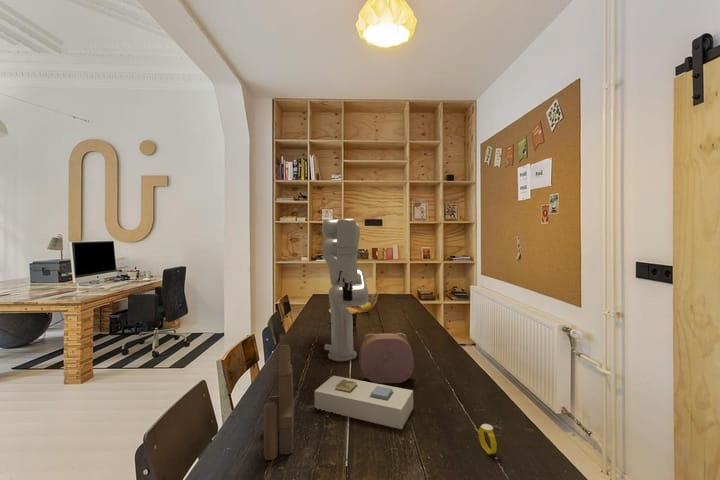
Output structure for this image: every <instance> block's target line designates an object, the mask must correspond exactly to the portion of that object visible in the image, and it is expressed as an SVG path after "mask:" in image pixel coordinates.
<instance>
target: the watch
mask: <svg viewBox="0 0 720 480" xmlns="http://www.w3.org/2000/svg"><path fill="white" fill-rule="evenodd" d="M485 433H487V436H488V438H489V443H490V447H489V446H488V444H487V442H486V438H485ZM478 439H479V443H480V445H481V448H483V450H484V452H486V453H487V455H495V454H496V452H497V449H498V448H497V447H498V446H497V445H498V444H497V440H496V436H495V434H494V427H493V425H491V424H489V423H483V424H481V426H479V428H478Z"/></svg>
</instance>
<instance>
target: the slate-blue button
mask: <svg viewBox="0 0 720 480" xmlns="http://www.w3.org/2000/svg"><path fill="white" fill-rule="evenodd" d="M391 395H392V389H390V388H385V387H380V386H377V387H376V388H375V389H374V390H373V391H372V393H371V397H372V398H377V399H382V400H386V401H388V400H389V398H390V397H391Z"/></svg>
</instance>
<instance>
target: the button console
mask: <svg viewBox="0 0 720 480" xmlns="http://www.w3.org/2000/svg"><path fill="white" fill-rule="evenodd" d="M342 380H348V381H353V382H357V387H356V388H355V389H354V390H353V391H352V392H351V393H348V392H343V391H338V390H336V385H337V384H338V383H340V382H341V381H342ZM377 386H380V387H385V388H390V389H392V395H391V397H390V398H389V400H388V401H386V400H382V399H377V398H372V397H371V393H372V391H373V390H374V389H375V388H376V387H377ZM315 408H317V409H316V410H319V409H321V410H320V411H323V410H325V411H324V412H327V411H328V413H331V412H333V414H335V413H336V415H339V414H340V416H344V417H348V418H352V419H357V420H360V421H361V420H362V421H365V422H370V423H374V424H376V425H377V424H378V425H382V426H387V427H389V428H390V427H391V428H394V429H398V430H403V428H404V426H405V424H406V423H407V421H408V419H409V417H410V415H411V414H412V411H413V409H414V390H413V389H408V388H402V387H397V386H391V385H386V384H382V383H374V382H372V381H370V382H369V381H364V380H359V379H354V378H348V377H343V376H339V375H337V376H336V375H332V376H331V377H330V378H328V379H327V380H326V381H325V382H323V383H322V384H321V385H320V386H319V387H317V388H316V389H315V390H314V409H315Z"/></svg>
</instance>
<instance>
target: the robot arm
mask: <svg viewBox="0 0 720 480" xmlns="http://www.w3.org/2000/svg"><path fill="white" fill-rule="evenodd" d="M321 233H322V237H323V238H324V239H325V240H324V241H323V243H322V254H323V259H324V261H325V262H326V265H327V267H328V270H329V280H330V284H331V287H330V288H329V290H328V300H329V307H330V328H331V329H330V331H331V335H330V336H331V344H328V343H325V344H324V351H328V354H327V356H328V359H329V360H331V361H333V362H334V361H335V362H347V361H352V360H354V359H356V357H357V356H358V355H357V351H356V350H354V322H353V319H354V317H353V315H352V312H351V311H350V310H349V309H348V307H360V306H361V307H362V306H365V305H367V304H368V301H369V298H370V297H369V290H368V286H367V281H366V276H365V274H364V271H363V269H361V268H358V260H357V256H358V250H359V243H360V238H361V237H360V236H361V235H360V234H361V230H360V225H359V223H358V222H357V221H356V219H354V218H337V219H336V218H334V219H332V218H331V219H324V220H323V222H322V225H321Z"/></svg>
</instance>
